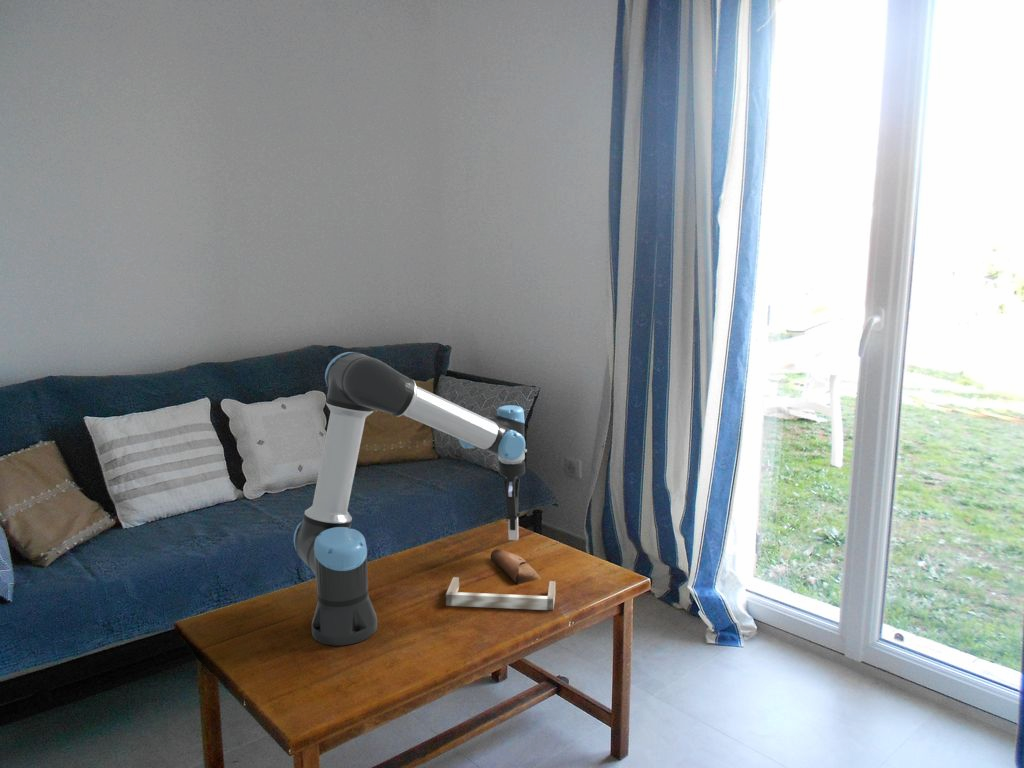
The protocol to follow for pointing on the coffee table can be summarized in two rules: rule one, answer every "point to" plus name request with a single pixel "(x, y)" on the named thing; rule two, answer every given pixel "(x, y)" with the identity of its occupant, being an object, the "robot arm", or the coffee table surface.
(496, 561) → the sunglasses case
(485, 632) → the coffee table surface
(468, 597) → the bracket
